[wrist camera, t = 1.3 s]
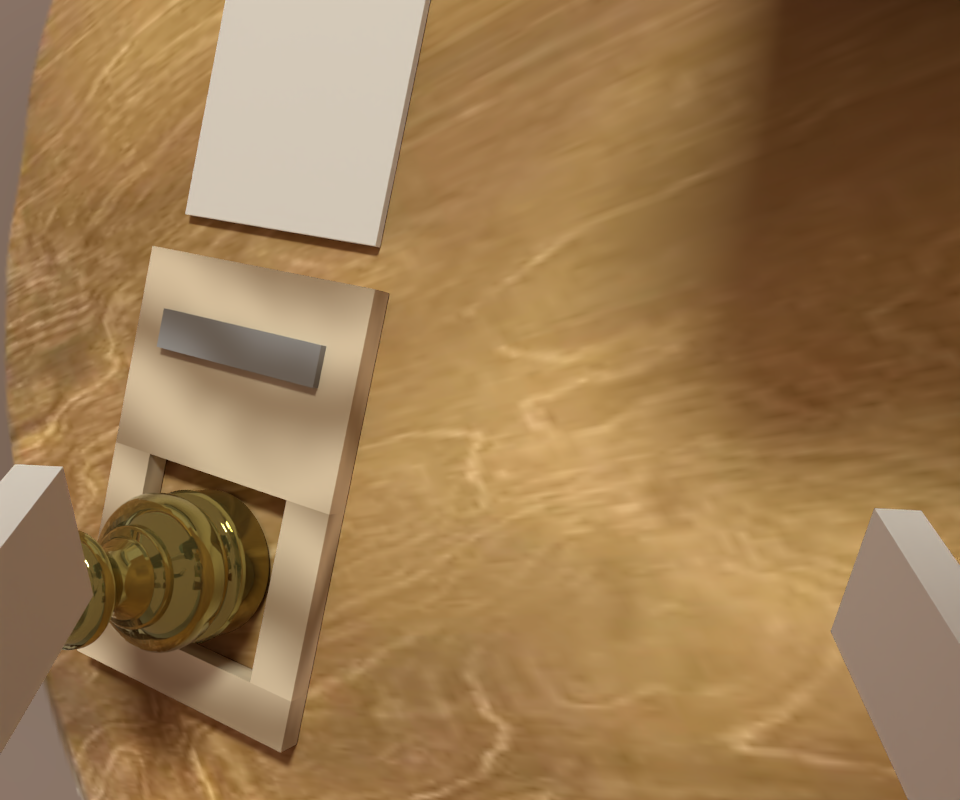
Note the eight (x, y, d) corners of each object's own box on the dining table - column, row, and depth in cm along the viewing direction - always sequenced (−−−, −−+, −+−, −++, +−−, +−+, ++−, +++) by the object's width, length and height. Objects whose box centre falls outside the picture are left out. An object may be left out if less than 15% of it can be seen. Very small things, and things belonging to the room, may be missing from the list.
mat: (234, -14, 44) (228, -18, 44) (432, -12, 39) (428, -16, 39) (190, 215, 45) (185, 213, 45) (379, 247, 40) (375, 245, 39)
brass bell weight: (221, 457, 44) (48, 465, 35) (299, 575, 41) (135, 615, 32) (140, 547, 46) (-42, 575, 37) (210, 663, 43) (33, 724, 34)
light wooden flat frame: (170, 250, 45) (146, 244, 44) (389, 293, 40) (370, 287, 38) (95, 645, 47) (70, 652, 45) (296, 744, 41) (275, 755, 40)
